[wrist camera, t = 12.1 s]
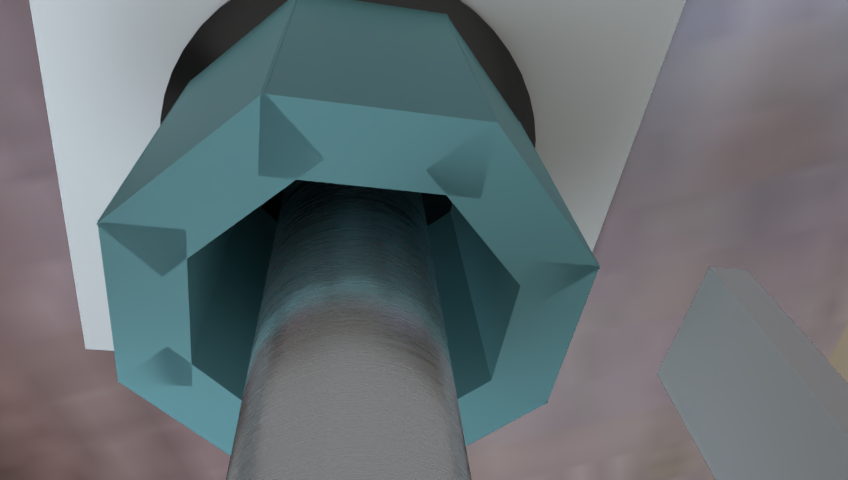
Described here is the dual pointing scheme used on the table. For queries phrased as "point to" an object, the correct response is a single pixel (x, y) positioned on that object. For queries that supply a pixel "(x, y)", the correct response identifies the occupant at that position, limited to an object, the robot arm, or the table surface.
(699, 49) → the table surface
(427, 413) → the post
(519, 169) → the ring
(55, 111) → the stand plate
